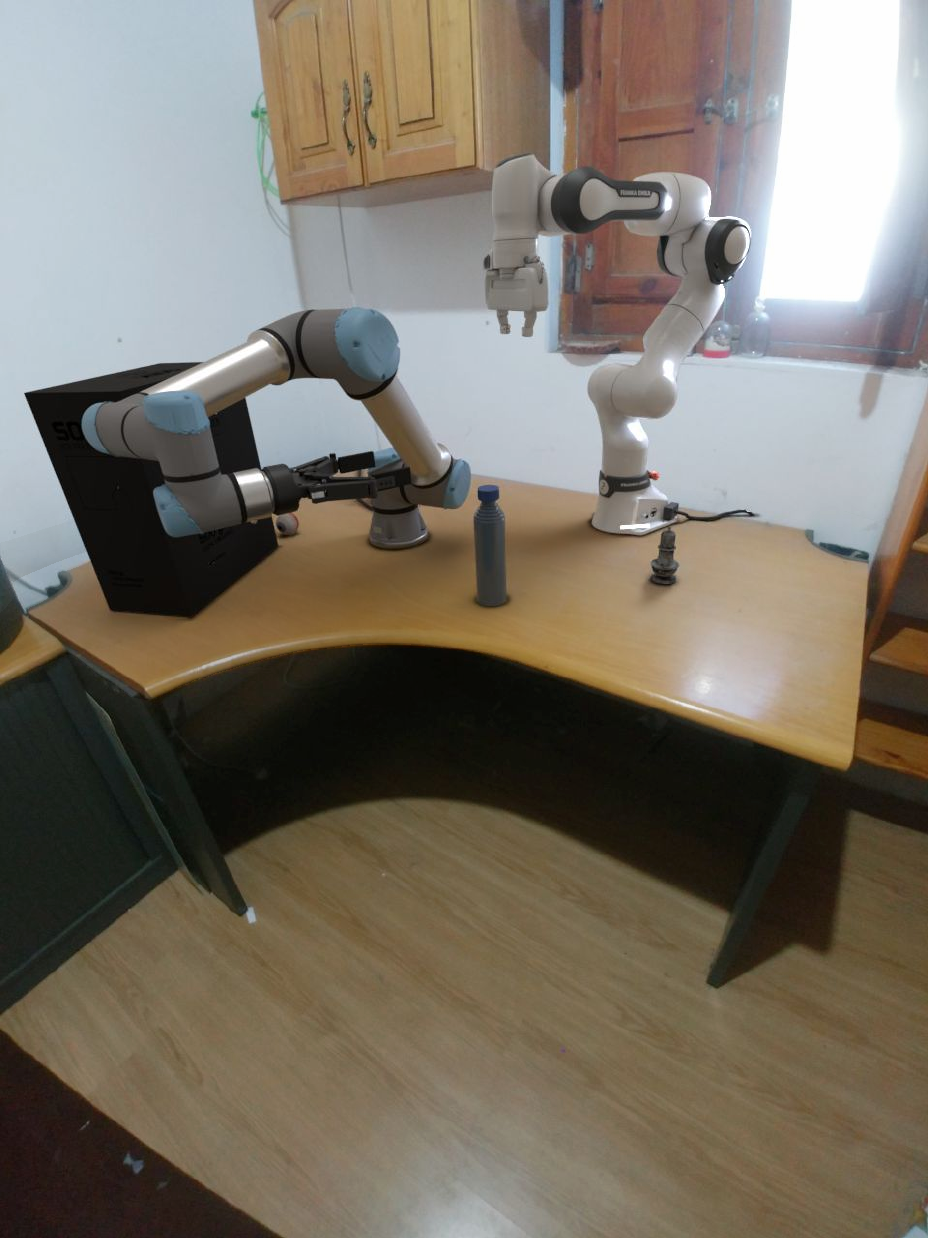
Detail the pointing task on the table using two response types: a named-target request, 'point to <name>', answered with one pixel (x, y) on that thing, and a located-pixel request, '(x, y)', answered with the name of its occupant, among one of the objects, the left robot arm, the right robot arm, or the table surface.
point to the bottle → (490, 554)
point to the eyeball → (287, 523)
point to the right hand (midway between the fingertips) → (516, 335)
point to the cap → (488, 493)
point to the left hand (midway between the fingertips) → (391, 466)
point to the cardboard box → (146, 501)
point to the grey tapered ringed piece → (665, 559)
